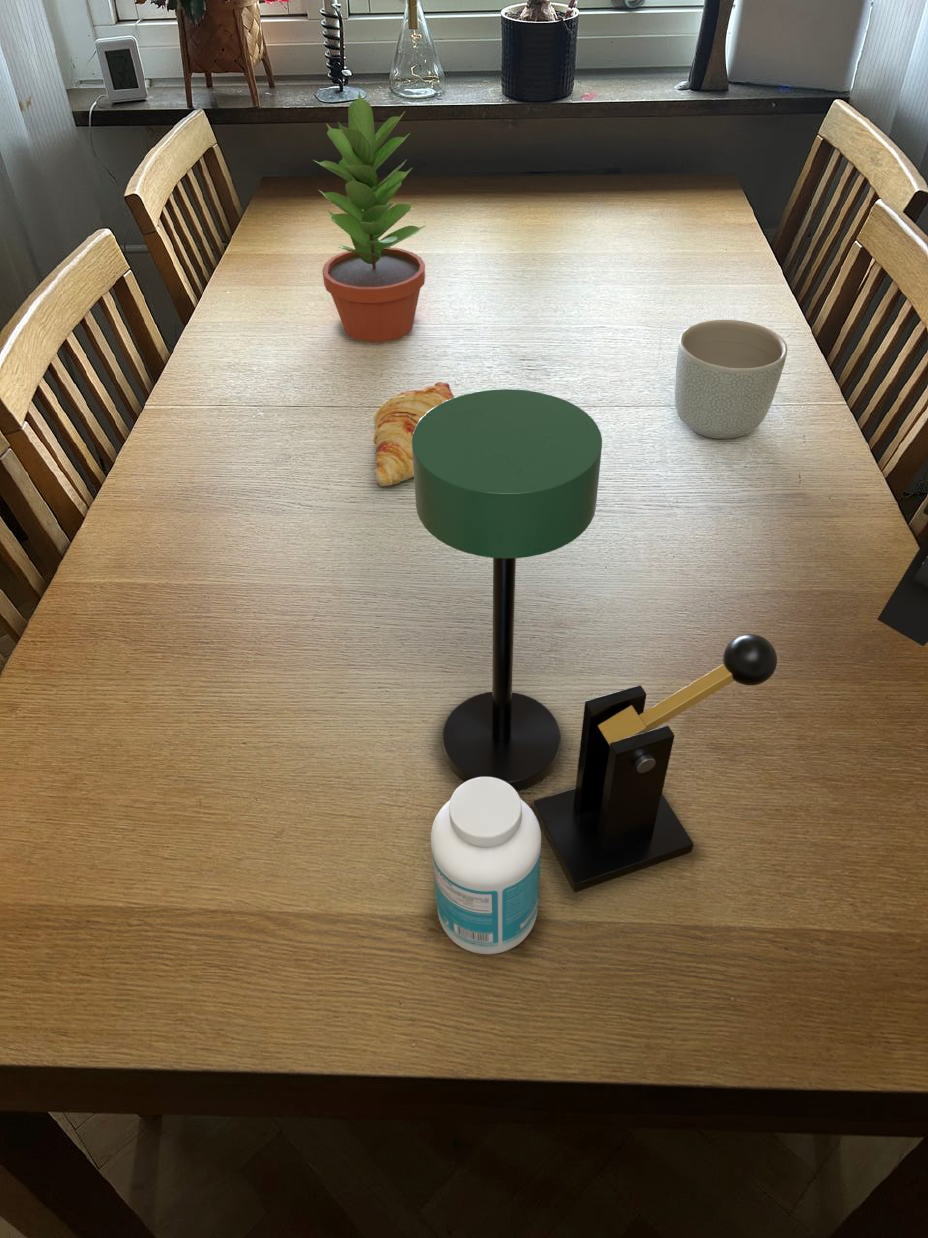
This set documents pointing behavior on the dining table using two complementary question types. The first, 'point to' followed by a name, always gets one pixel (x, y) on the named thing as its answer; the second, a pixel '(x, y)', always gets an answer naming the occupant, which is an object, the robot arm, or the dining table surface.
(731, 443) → the dining table surface
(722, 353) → the planter
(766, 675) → the lamp switch
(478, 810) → the pill bottle
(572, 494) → the desk lamp
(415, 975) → the dining table surface
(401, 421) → the croissant
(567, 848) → the switch bracket
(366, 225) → the potted plant
